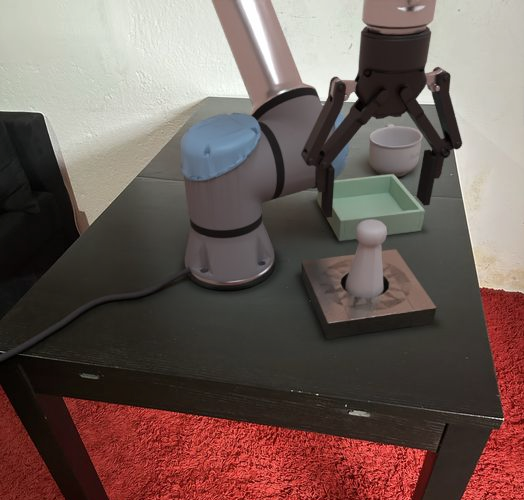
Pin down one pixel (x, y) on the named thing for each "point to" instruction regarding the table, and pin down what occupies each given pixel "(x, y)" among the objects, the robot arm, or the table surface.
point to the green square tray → (373, 206)
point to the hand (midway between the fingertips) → (375, 207)
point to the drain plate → (365, 309)
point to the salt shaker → (367, 260)
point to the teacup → (394, 149)
